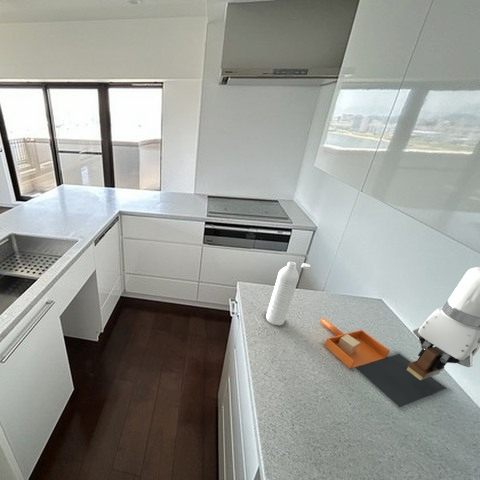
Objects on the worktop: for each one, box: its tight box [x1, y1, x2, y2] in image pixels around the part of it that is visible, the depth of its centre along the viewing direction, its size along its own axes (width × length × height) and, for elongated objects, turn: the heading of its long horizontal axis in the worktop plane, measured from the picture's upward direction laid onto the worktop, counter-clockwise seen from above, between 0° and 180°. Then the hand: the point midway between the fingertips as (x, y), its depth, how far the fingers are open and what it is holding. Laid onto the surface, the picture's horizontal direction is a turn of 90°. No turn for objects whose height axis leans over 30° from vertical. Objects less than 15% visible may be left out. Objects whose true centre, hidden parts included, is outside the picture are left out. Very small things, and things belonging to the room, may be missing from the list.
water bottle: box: [265, 260, 311, 326], centre depth 91 cm, size 9×6×25 cm
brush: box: [407, 345, 446, 380], centre depth 72 cm, size 8×4×9 cm, turn 107°
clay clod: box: [337, 333, 360, 355], centre depth 84 cm, size 4×4×4 cm
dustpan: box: [320, 317, 391, 369], centre depth 88 cm, size 18×16×3 cm
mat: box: [354, 353, 447, 408], centre depth 76 cm, size 20×12×1 cm, turn 107°
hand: (428, 364), depth 72 cm, fingers closed on brush, 2 cm apart
